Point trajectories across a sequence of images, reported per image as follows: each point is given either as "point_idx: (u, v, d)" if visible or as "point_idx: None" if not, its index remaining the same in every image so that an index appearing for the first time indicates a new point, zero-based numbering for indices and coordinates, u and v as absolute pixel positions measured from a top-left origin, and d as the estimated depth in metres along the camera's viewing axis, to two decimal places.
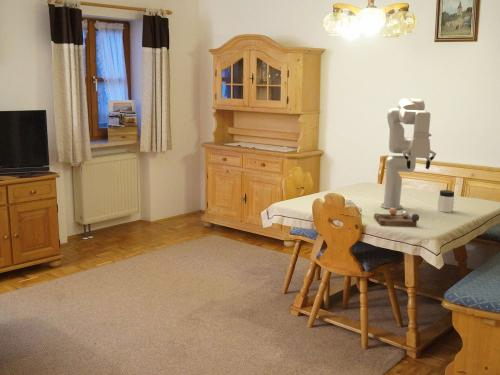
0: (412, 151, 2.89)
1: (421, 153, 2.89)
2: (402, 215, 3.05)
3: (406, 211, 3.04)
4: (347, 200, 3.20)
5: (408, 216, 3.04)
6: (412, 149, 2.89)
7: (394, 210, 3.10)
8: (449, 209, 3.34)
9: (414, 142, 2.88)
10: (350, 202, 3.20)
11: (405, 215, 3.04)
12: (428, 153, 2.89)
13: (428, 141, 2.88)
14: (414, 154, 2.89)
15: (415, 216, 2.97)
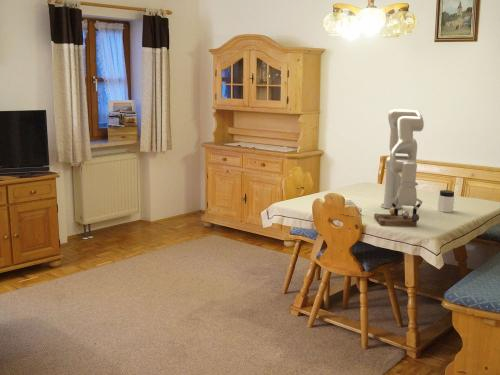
0: (399, 199, 3.02)
1: (408, 201, 3.02)
2: (402, 215, 3.05)
3: (406, 211, 3.04)
4: (347, 200, 3.20)
5: (408, 216, 3.04)
6: (399, 198, 3.01)
7: None
8: (449, 209, 3.34)
9: (401, 191, 3.01)
10: (350, 202, 3.20)
11: (405, 215, 3.04)
12: (415, 201, 3.02)
13: (414, 190, 3.01)
14: (401, 202, 3.02)
15: (415, 216, 2.97)
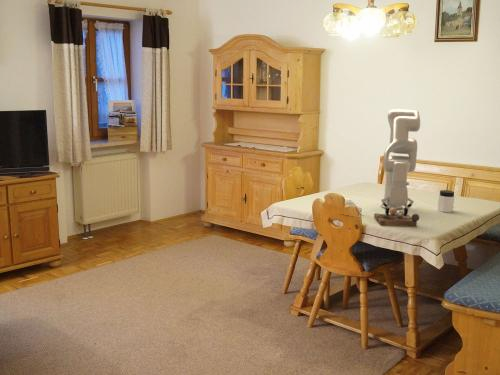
0: (390, 199, 3.02)
1: (399, 201, 3.02)
2: (400, 217, 3.05)
3: (396, 214, 3.04)
4: (347, 200, 3.20)
5: (402, 212, 3.03)
6: (390, 197, 3.01)
7: (394, 210, 3.10)
8: (449, 209, 3.34)
9: (392, 191, 3.01)
10: (350, 202, 3.20)
11: (401, 216, 3.03)
12: (406, 201, 3.02)
13: (406, 189, 3.01)
14: (393, 202, 3.02)
15: (415, 216, 2.97)
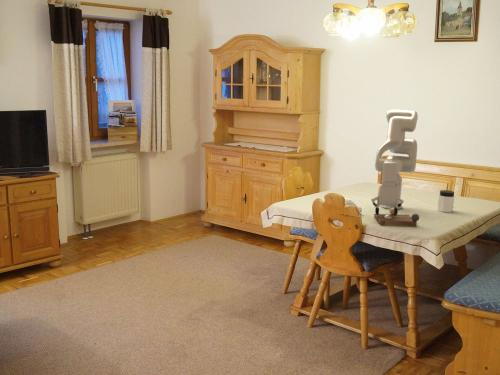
0: (380, 199, 3.02)
1: (389, 201, 3.02)
2: None
3: (391, 217, 3.05)
4: (347, 200, 3.20)
5: None
6: (380, 197, 3.01)
7: None
8: (449, 209, 3.34)
9: (382, 190, 3.01)
10: (350, 202, 3.20)
11: (387, 216, 3.04)
12: (395, 201, 3.02)
13: (395, 189, 3.00)
14: (382, 201, 3.02)
15: (415, 216, 2.97)
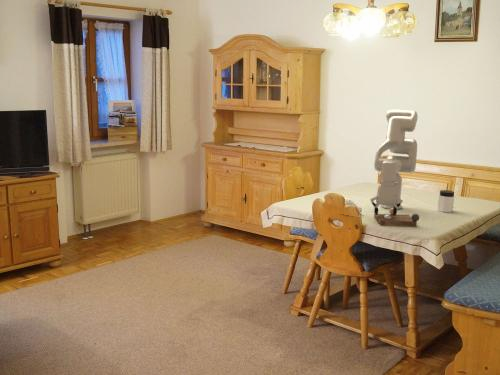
0: (379, 199, 3.02)
1: (388, 200, 3.02)
2: (385, 215, 3.06)
3: None
4: (347, 200, 3.20)
5: None
6: (379, 197, 3.01)
7: None
8: (449, 209, 3.34)
9: (381, 190, 3.01)
10: (350, 202, 3.20)
11: (387, 216, 3.04)
12: (394, 200, 3.02)
13: (394, 189, 3.01)
14: (381, 201, 3.02)
15: (415, 216, 2.97)
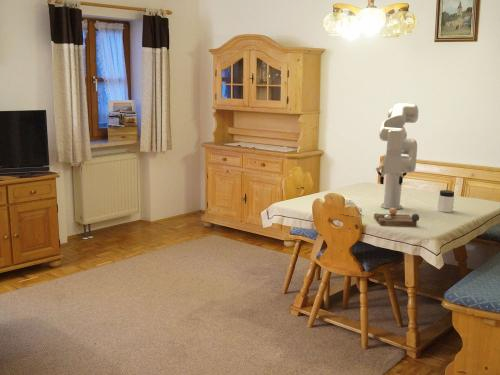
0: (385, 167, 3.00)
1: (394, 169, 3.00)
2: (385, 215, 3.06)
3: (390, 216, 3.05)
4: (347, 200, 3.20)
5: None
6: (385, 166, 2.99)
7: (394, 210, 3.10)
8: (449, 209, 3.34)
9: (387, 159, 2.99)
10: (350, 202, 3.20)
11: (387, 216, 3.04)
12: (400, 169, 3.00)
13: (400, 157, 2.98)
14: (387, 170, 3.00)
15: (415, 216, 2.97)
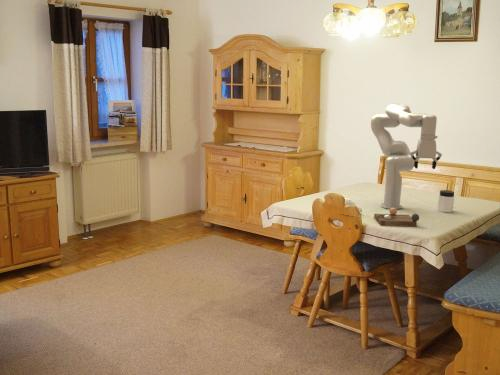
0: (419, 152, 3.09)
1: (428, 154, 3.09)
2: None
3: (390, 216, 3.05)
4: (347, 200, 3.20)
5: None
6: (419, 150, 3.09)
7: (394, 210, 3.10)
8: (449, 209, 3.34)
9: (421, 144, 3.08)
10: (350, 202, 3.20)
11: (386, 216, 3.04)
12: (434, 154, 3.09)
13: (434, 142, 3.08)
14: (421, 154, 3.09)
15: (415, 216, 2.97)
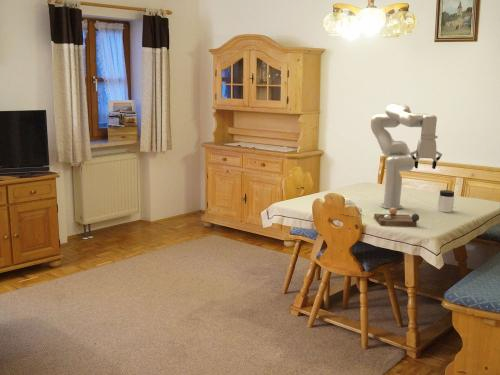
0: (419, 152, 3.09)
1: (428, 154, 3.09)
2: None
3: None
4: (347, 200, 3.20)
5: None
6: (419, 150, 3.09)
7: (394, 210, 3.10)
8: (449, 209, 3.34)
9: (421, 144, 3.08)
10: (350, 202, 3.20)
11: (386, 216, 3.04)
12: (434, 154, 3.09)
13: (434, 142, 3.08)
14: (422, 154, 3.09)
15: (415, 216, 2.97)
